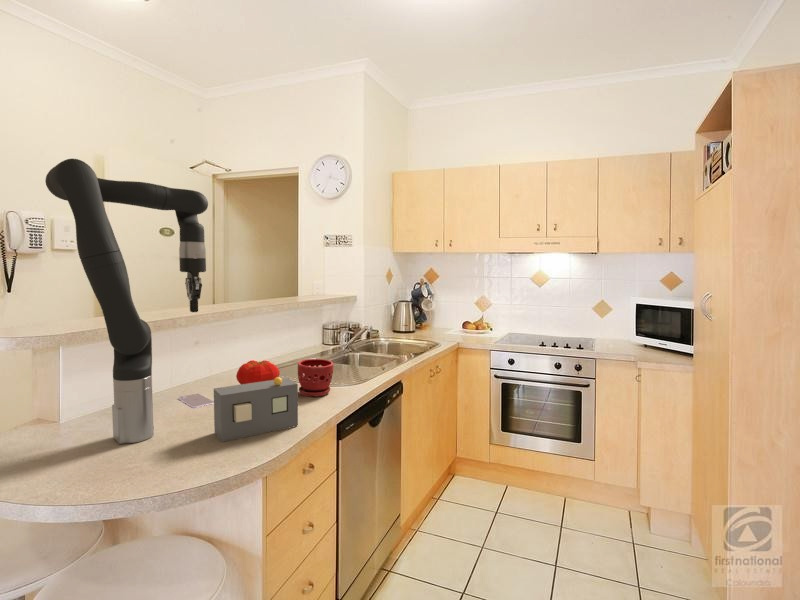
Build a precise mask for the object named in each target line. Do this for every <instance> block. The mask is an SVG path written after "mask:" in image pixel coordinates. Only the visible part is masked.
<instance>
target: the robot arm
mask: <svg viewBox="0 0 800 600" xmlns="http://www.w3.org/2000/svg"><path fill="white" fill-rule="evenodd" d="M44 180H45V185H46V188H47V190H48V191H49V192H50V193H51V194H52V195H53V196H55V197H56V198H58V199H61V200H63V201H67V203H68V205H69V206H70V209H71V212H72V214H73V218H74V222H75V237H76V239H75V240H76V247H77V252H78V253H77V254H78V256H79V260H80V263H81V265H82V269H83V271H84V273H85V275H86V277H87V279H88V282H89V285H90V286H91V289H92V291H93V293H94V296H95V298H96V299H97V302H98V304H99V306H100V309H101V312H102V314H103V318H104V322H105V323H104V324H105V326H106V330H107V335H108V340H109V342H110V345H111V347H112V348H113V367H112V382H113V383H112V385H113V404H112V405H111V413H112V416H111V417H112V437H113V440H114V441H115V442H116V443H117V444H118V445H123V444H134V443H138V442H139V443H140V442H143V441H145V440H148V439H150V438H152V437H153V436H154V434H155V432H154V430H155V429H154V428H155V427H154V406H153V405H154V403H153V402H154V401H153V398H154V397H153V375H152V374H153V373H152V370H153V368H152V367H153V348H152V347H153V344H152V342H153V341H152V340H153V339H152V331H151V330H152V329H151V327H150V326H149V324H148V323H147V322H146V321H145V320H143V319H142V318H140V315H139V313H138V311H137V308H136V306H135V303H134V300H133V298H132V293H131V292H132V291H131V285H130V279H129V274H128V270H127V265H126V263H125V260H124V256H123V254H122V252H121V248H120V246H119V243H118V241H117V238H116V236H115V233H114V230H113V227H112V225H111V223H110V220H109V218H108V214H107V211H106V208H105V204H104V203H114V204H120V205H121V204H123V205H130V206H134V207H135V206H136V207H140V208H145V209H146V208H147V209H153V210H160V211H174V212H175V216H176V219H177V224H178V228H179V249H178V253H179V254H178V256H179V257H178V259H179V271H180V272H181V273H187V274H186V277H185V280H184V284H185V289H186V297H187V298H188V300H189V312H191V313H198V312H199V300H200V299H201V293H202V287H203V283H202V278H201V277H200V273H205V272H206V271H207V259H206V258H207V254H206V253H207V252H206V244H205V228H204V225H203V224H202V223H200V222H199V218H198V217H199V216H198V215H201V214H203V213H205V212H206V211H207V210H208V207H209V201H208V198H207V197H206V196H205V194H203V193H201V192H200V191H198V190H193V189H185V188H184V189H183V188H176V187H175V188H173V187H170V186H169V187H168V186H164V185H161V184H155V183H152V182H151V183H150V182H144V181H135V180H134V181H132V180H131V181H130V180H128V181H127V180H114V179H105V178H100V177H98V176H97V174H96V173H95V171H94V169H93V167H91V166H90V165H89V164H87V163H86V162H85V161H83V160H80V159H78V158H68V159H65V160H62V161H60V162H59V163H57V165H55V166H53V167H52V168H51V169H50V170H49V171H48V172H47V174H46V176H45V179H44Z"/></svg>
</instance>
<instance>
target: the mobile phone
mask: <svg viewBox="0 0 800 600" xmlns="http://www.w3.org/2000/svg"><path fill="white" fill-rule="evenodd" d="M179 399H180V400H181V401H180V400H179ZM177 400H179V401H180V402H182V401H183V402H182V403H184V404H185V403H186V404H185V405H187V406H189V407H190V408H193V409H197V407H198V408H202V406H203V407H208V406H211V405H214V400H211V399H210V398H208V397H206V396H204V395H202V394H201V393H194V394H193V393H192V394H188V395H183V396H179V397H177ZM205 405H206V406H205Z"/></svg>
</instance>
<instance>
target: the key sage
mask: <svg viewBox="0 0 800 600" xmlns="http://www.w3.org/2000/svg"><path fill="white" fill-rule="evenodd" d="M286 410H287V397H286V396H280V397H274V398H272V413H275V412H280V411H286Z"/></svg>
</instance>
